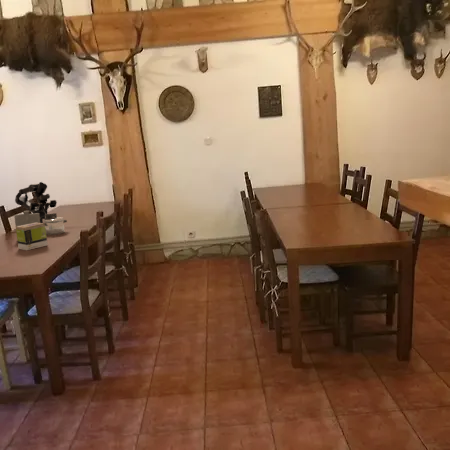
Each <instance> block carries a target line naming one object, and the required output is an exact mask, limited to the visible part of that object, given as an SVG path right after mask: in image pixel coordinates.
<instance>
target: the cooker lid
mask: <svg viewBox="0 0 450 450" xmlns="http://www.w3.org/2000/svg"><path fill="white" fill-rule="evenodd" d="M62 220H65V219H64V217H63V216H62V217H61V216H59V217H58V216H57V213H55V212H54V213H47V214H46V215H45V219H43V223H44V222H57V221H62Z"/></svg>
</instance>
